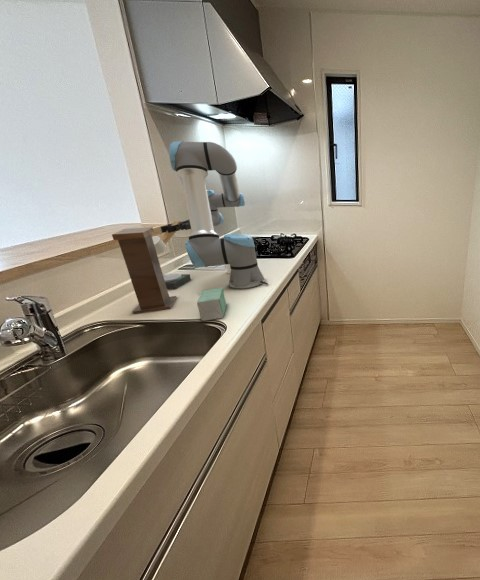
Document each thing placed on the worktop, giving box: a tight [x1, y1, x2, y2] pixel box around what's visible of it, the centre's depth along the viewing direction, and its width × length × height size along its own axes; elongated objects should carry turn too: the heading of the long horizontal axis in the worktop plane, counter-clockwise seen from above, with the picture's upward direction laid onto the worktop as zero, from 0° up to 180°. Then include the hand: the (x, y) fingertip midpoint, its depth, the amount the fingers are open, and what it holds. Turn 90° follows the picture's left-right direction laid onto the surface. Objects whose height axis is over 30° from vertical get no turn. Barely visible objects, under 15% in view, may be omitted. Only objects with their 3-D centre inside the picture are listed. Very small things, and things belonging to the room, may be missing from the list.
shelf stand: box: [111, 226, 178, 315], centre depth 119 cm, size 12×12×30 cm
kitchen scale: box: [163, 273, 192, 290], centre depth 147 cm, size 13×13×4 cm
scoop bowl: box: [152, 221, 181, 256], centre depth 144 cm, size 21×7×5 cm, turn 173°
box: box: [196, 287, 227, 322], centre depth 117 cm, size 7×14×8 cm, turn 22°
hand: (165, 229), depth 144 cm, fingers closed on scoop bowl, 2 cm apart
